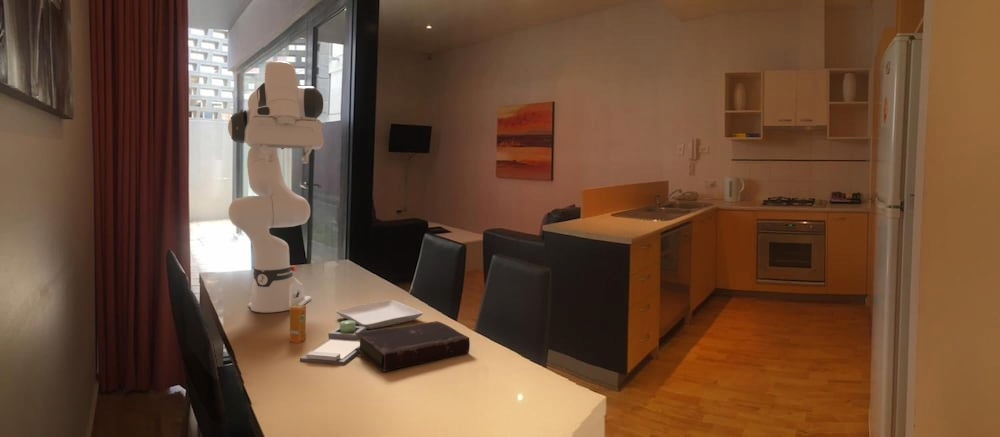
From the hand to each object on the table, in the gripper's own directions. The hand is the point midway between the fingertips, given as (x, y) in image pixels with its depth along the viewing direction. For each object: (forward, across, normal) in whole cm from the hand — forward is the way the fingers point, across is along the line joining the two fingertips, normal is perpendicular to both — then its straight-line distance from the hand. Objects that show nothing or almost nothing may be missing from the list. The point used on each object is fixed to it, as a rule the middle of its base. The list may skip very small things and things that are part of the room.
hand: (287, 162), depth 151 cm
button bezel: (+50, -15, -10) cm, 53 cm away
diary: (+56, -25, +11) cm, 63 cm away
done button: (+48, -15, -10) cm, 52 cm away
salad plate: (+46, -29, -22) cm, 59 cm away
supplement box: (+49, -2, -14) cm, 51 cm away
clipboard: (+53, -8, +1) cm, 54 cm away
